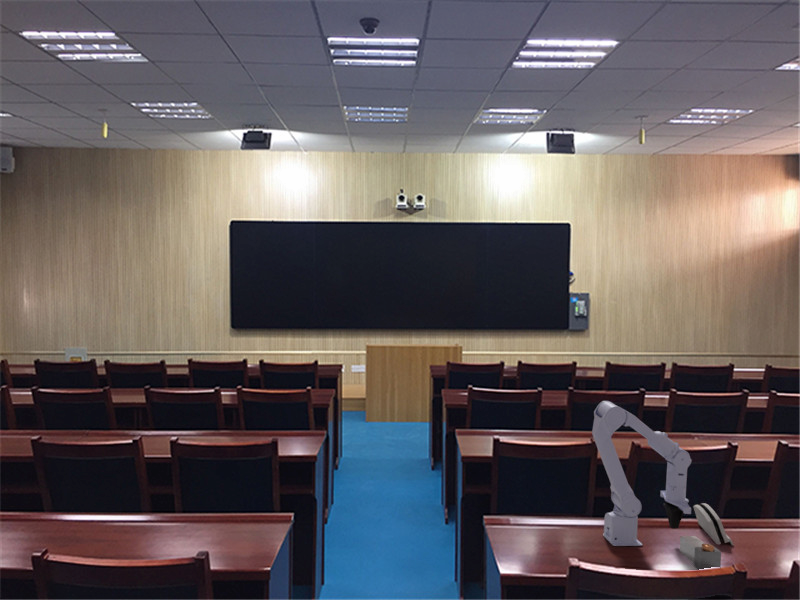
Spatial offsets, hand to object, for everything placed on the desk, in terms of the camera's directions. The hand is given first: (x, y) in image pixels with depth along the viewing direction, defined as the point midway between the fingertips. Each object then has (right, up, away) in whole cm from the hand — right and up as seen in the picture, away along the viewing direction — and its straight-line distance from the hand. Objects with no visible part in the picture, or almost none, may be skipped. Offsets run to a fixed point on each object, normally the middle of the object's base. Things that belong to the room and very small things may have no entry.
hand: (673, 527), depth 183 cm
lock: (+1, -5, -11) cm, 12 cm away
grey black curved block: (+16, -5, +8) cm, 18 cm away
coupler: (+1, -5, -13) cm, 14 cm away
